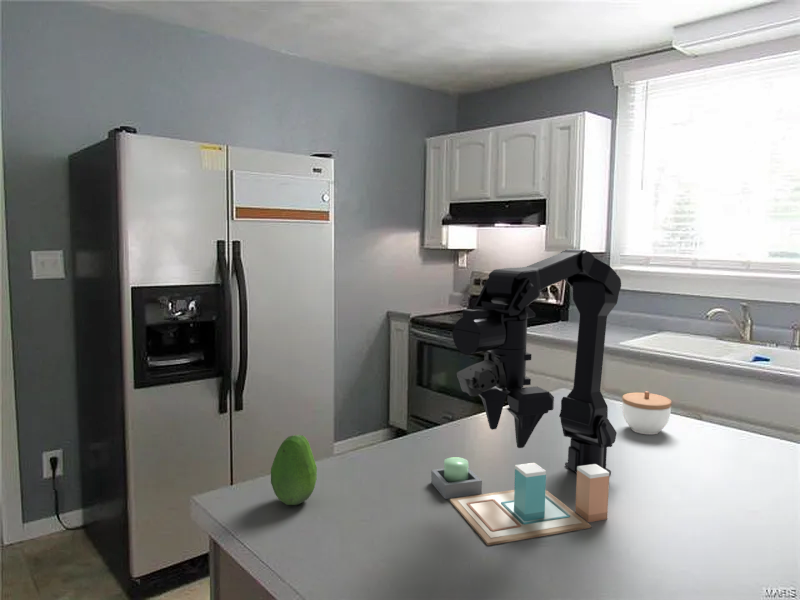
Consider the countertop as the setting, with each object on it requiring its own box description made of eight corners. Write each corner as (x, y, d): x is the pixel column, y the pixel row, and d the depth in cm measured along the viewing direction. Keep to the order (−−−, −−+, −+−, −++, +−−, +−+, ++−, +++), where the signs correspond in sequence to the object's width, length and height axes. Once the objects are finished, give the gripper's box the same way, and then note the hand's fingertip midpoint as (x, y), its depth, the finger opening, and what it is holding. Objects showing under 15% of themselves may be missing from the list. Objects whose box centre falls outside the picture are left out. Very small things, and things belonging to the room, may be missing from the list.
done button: (462, 471, 109) (462, 456, 108) (472, 481, 105) (472, 465, 104) (440, 474, 108) (440, 458, 107) (449, 484, 103) (449, 467, 103)
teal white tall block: (533, 508, 97) (534, 462, 97) (544, 518, 94) (546, 471, 93) (513, 511, 96) (515, 465, 95) (524, 521, 93) (526, 473, 92)
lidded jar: (678, 438, 132) (680, 398, 131) (630, 438, 132) (632, 398, 131) (657, 423, 143) (660, 385, 142) (614, 422, 143) (616, 385, 142)
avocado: (325, 496, 103) (324, 430, 102) (303, 516, 96) (302, 446, 94) (285, 489, 106) (284, 425, 104) (261, 508, 98) (259, 440, 97)
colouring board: (541, 488, 106) (541, 484, 106) (590, 527, 92) (591, 523, 92) (449, 501, 101) (449, 497, 101) (487, 545, 87) (487, 541, 87)
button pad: (465, 477, 111) (466, 465, 110) (481, 493, 104) (481, 480, 104) (431, 482, 109) (431, 469, 108) (445, 498, 102) (445, 485, 102)
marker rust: (593, 509, 98) (595, 463, 98) (607, 519, 95) (609, 472, 94) (575, 511, 97) (577, 466, 96) (588, 522, 94) (590, 474, 93)
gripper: (441, 339, 102) (440, 425, 103) (491, 361, 84) (489, 465, 86) (498, 335, 105) (496, 419, 107) (557, 356, 88) (554, 456, 89)
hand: (506, 437), depth 97 cm, fingers open, 9 cm apart
